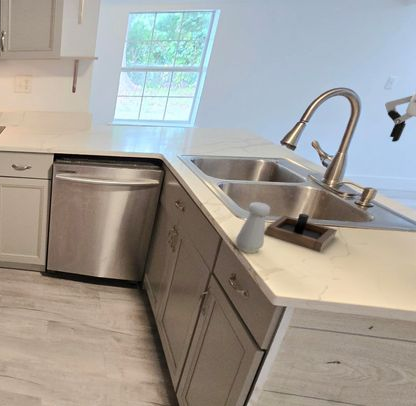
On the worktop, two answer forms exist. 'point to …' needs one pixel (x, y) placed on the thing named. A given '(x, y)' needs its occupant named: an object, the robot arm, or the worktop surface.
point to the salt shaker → (253, 228)
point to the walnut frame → (299, 239)
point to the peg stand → (301, 227)
